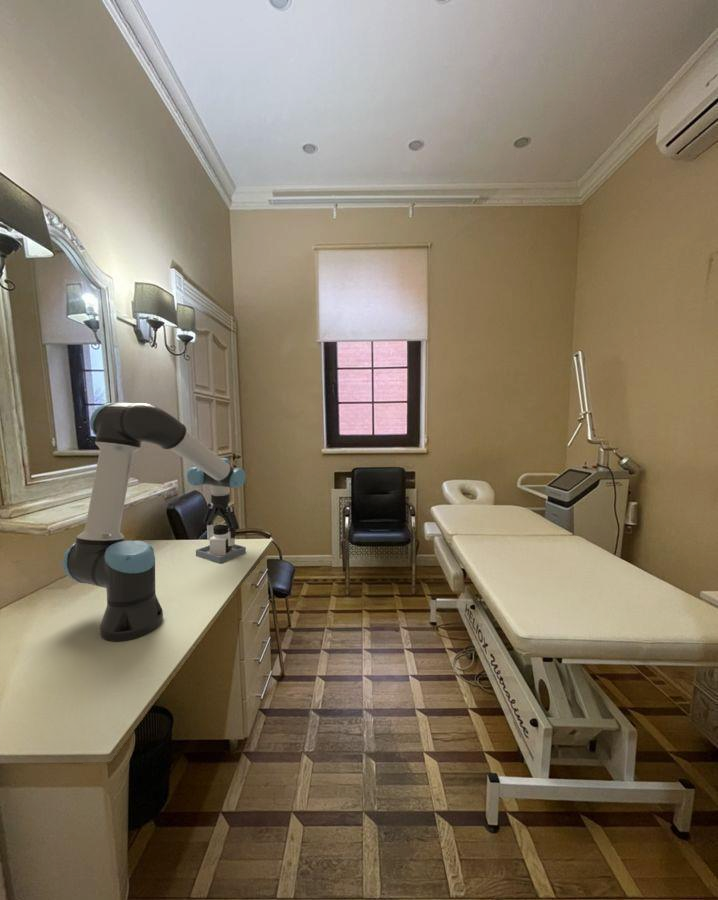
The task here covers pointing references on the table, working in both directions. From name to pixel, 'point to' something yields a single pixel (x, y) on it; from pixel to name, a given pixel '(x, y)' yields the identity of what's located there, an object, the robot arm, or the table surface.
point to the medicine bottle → (220, 540)
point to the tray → (233, 553)
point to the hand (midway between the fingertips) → (220, 542)
